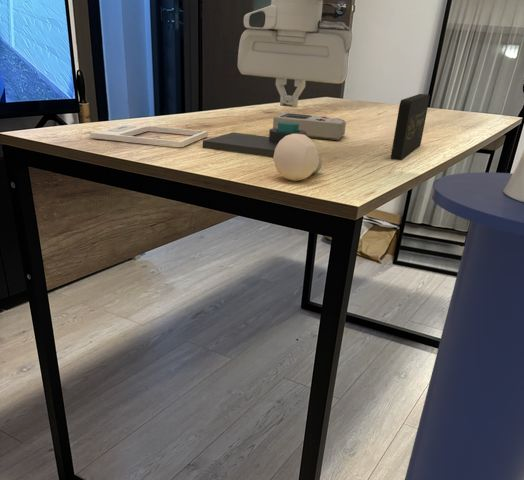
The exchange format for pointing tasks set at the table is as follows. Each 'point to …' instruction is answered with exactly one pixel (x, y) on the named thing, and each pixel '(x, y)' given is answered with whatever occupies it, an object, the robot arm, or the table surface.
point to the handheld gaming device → (314, 125)
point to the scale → (248, 142)
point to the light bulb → (296, 157)
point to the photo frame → (128, 130)
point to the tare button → (288, 127)
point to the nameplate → (409, 125)
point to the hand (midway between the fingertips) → (288, 106)
